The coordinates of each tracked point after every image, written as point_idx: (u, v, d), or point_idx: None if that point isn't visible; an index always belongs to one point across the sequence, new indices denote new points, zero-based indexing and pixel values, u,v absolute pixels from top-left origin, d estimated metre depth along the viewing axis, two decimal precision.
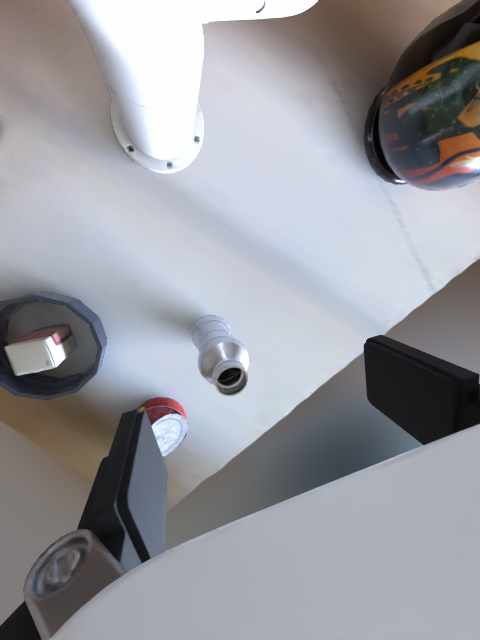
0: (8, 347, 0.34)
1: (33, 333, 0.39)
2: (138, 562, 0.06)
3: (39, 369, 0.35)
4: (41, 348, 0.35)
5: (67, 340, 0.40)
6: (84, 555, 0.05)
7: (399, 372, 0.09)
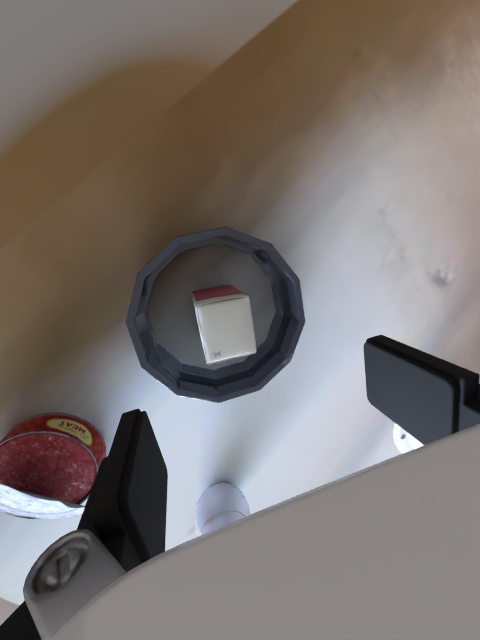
0: (247, 301, 0.20)
1: None
2: (138, 562, 0.06)
3: (205, 341, 0.20)
4: (242, 347, 0.21)
5: None
6: (84, 555, 0.05)
7: (399, 372, 0.09)
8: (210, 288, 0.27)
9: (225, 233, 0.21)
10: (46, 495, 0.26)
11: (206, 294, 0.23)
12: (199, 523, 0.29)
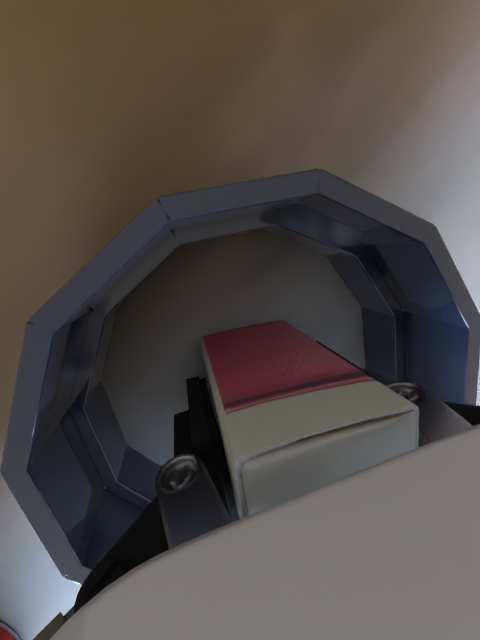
0: (414, 425, 0.06)
1: None
2: (224, 486, 0.08)
3: None
4: None
5: None
6: (193, 470, 0.07)
7: None
8: (242, 330, 0.12)
9: (316, 190, 0.07)
10: None
11: (245, 363, 0.09)
12: None
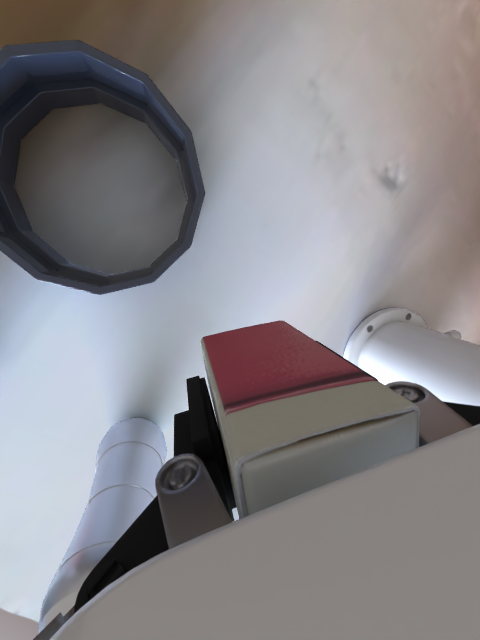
0: (414, 425, 0.06)
1: None
2: (223, 486, 0.08)
3: None
4: None
5: None
6: (193, 470, 0.07)
7: None
8: (242, 330, 0.12)
9: (78, 49, 0.16)
10: None
11: (245, 363, 0.09)
12: (97, 457, 0.24)
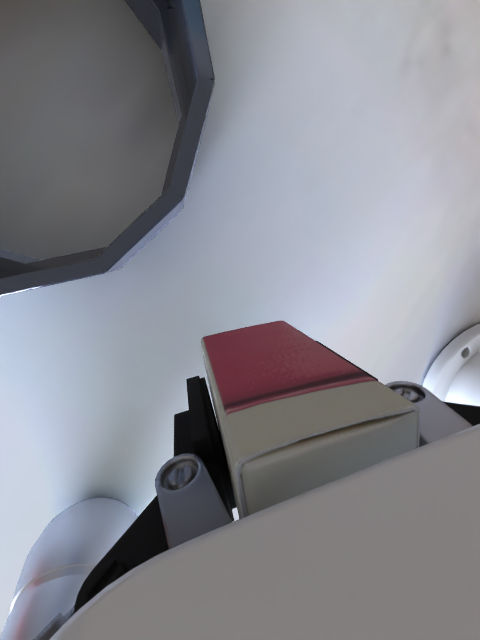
0: (415, 425, 0.06)
1: None
2: (223, 486, 0.08)
3: None
4: None
5: None
6: (193, 470, 0.07)
7: None
8: (242, 330, 0.12)
9: None
10: None
11: (245, 363, 0.09)
12: (16, 589, 0.14)
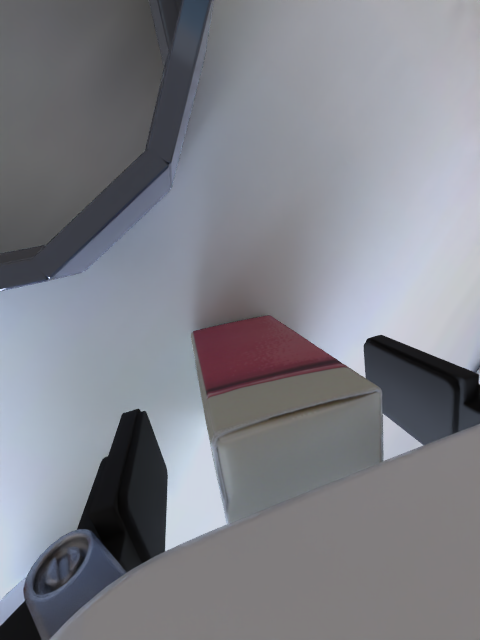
0: (377, 405, 0.06)
1: None
2: (138, 562, 0.06)
3: None
4: None
5: None
6: (84, 555, 0.05)
7: (399, 372, 0.09)
8: (230, 324, 0.13)
9: None
10: None
11: (229, 353, 0.09)
12: None
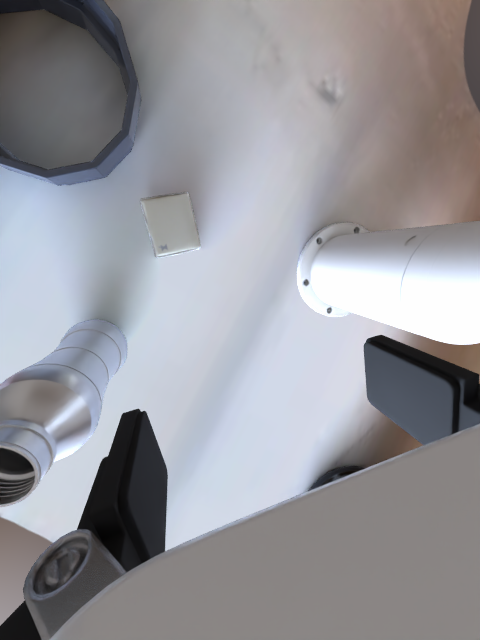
0: (188, 197, 0.23)
1: None
2: (138, 562, 0.06)
3: (152, 234, 0.23)
4: (187, 242, 0.24)
5: None
6: (84, 555, 0.05)
7: (399, 372, 0.09)
8: None
9: None
10: None
11: None
12: None
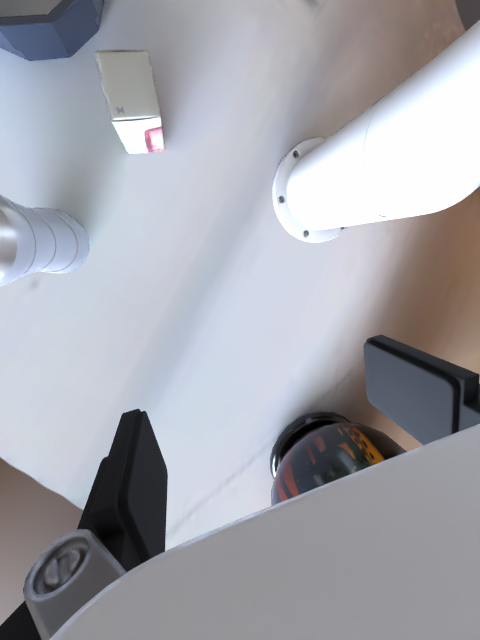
0: (147, 56, 0.22)
1: None
2: (138, 562, 0.06)
3: (107, 93, 0.22)
4: (146, 108, 0.22)
5: (144, 145, 0.28)
6: (84, 555, 0.05)
7: (399, 372, 0.09)
8: None
9: None
10: None
11: None
12: None
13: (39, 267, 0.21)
